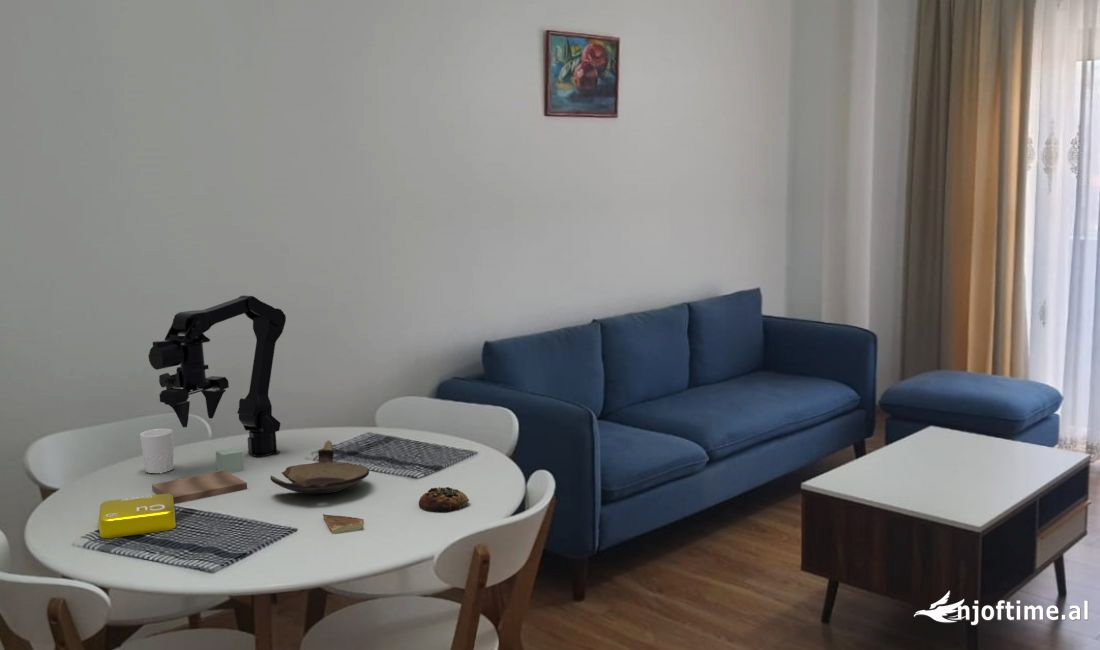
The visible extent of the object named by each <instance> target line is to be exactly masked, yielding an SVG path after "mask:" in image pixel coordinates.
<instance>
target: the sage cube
mask: <svg viewBox="0 0 1100 650" xmlns="http://www.w3.org/2000/svg"><path fill="white" fill-rule="evenodd" d="M243 457H244V456H243V451H242V450H241V449H239V448H236V447H232V448H226V449H220V450H215V461H216V470H217V471H218V470H219V471H218V472H220V471H227V472H229V473H231V474H233V473H236V472H237V473H238V472H241V471H244V460H243Z"/></svg>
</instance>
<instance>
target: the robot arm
mask: <svg viewBox="0 0 1100 650" xmlns="http://www.w3.org/2000/svg"><path fill="white" fill-rule="evenodd" d="M242 314H243V315H245V316H246V317H247V318H248V319H250V320H251V321H252V329H253V332H254V336H255V339H256V344H255V349H254V350H255V351H254V358H253V364H252V371H251V378H250V383H249V391H248V393H247V396H246V397H245V398H239V401H238V402H239V403H238V410H237V412H236V414H238V420H239V422H240V424H242V425H243V428H244V430H245V432H246V431H248V437H247V450H248V451H247V453H248V454H250V455H251V456H254V457H256V458H259V457H265V456H269V455H275V454H279V453H280V450H278V449H277V447H278V446H277V434H276V433H277V432H279V431H280V428H281V422H280V421H278V419H276V417H274V416H273V407H272V403H271V400H270V398H269V389H270V383H271V377H272V368H273V362H274V356H275V349H276V343H277V342H278V340H279V338H280V337H281V335H282V334H283V332H284V328H285V325H286V321H287V317H286V314H285V313H284V311H283V310H282V309H281V308H276V307H274V306H271V305H270V304H267V303H266V302H264V301H261V300H260V299H258V298H257V297H255V296H253V295H240V296H238V297H236V298H234V299H231V300H228V301H225V302H222V303H220V304H217V305H214V306H211V307H208V308H205V309H199V310H197V309H196V310H186V311H180V312H177V313H176V314H175V315H174V316H173V320H172V324H171V325H170V328H169V329H168V332H167V333H166V334H165V335H166V336H165V337H164V340H160V341H159V340H156V341H152V347H150V349H149V353H148V361H149V364H150V365H151V368H153V369H154V370H157V371H159V370H162V369H167V368H171V367H176V366H178V367H176V373H173V374H170V373H169V372H165V373H162V374H159V375H158V376H159V377H158V383H159V385H160V387H161V388H165V389H163V390H161V392H160V393H159V394H158V395H159V402H160V403H164V405H167V406H169V407H170V408H172V410H173V411H174V413H175V414H176V417H177V419H178V420H179V422H180V425H181V426H182V428H187V427H188V424H189V416H190V415H189V414H190V405H191V401H190V400H189V401H188V399H189V398H190V395H194V394H196V393H200V392H201V394H203V396H204V399H205V405H206V413H207V416H208V419H210V420H211V419H213V418H214V417H215V414H216V411H217V409H218V405H219V403H220V401H221V399H222V397H223V396H224V393H225V392H226V389H230V388H229V387H230V386H229V379H227V377H226V376H219V375H218V376H217V375H215V376H214V375H211V376H207V375H206V370H209V364H205V355H204V346H203V345H204V343H210V342H211V339H210V338H209V337H208V336H206V334H205V333H206V332H208V331H209V330H210V329H211V327H212V326H214V325H216V324H219V323H221V322H223V321H226V320H229V319H232V318H236V317H238V316H240V315H242ZM206 376H207V377H206Z"/></svg>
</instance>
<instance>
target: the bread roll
mask: <svg viewBox="0 0 1100 650" xmlns="http://www.w3.org/2000/svg"><path fill="white" fill-rule="evenodd" d="M418 500H419V501H418V506H419V508H420V509H422V510H425V511H427V512H430V513H431V512H432V513H447V512H453V511H457V510H461V508H462V507H463V508H464V507H466V506H468V503H469V501H470V499H469V497H468V496H467V495H466V493H464V492H463V491H460V490H459V489H456V488H453V487H450V486H449V487H448V486H447V487H440V486H439V487H433V488H430V489H429V490H428V491H427V492H425V493H424V494H422V495H421V496H420V498H419V499H418Z"/></svg>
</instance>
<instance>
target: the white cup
mask: <svg viewBox="0 0 1100 650" xmlns="http://www.w3.org/2000/svg"><path fill="white" fill-rule="evenodd" d="M139 435H140V436H139V438H140V444H141V445H140V446H141V451H142V452H141V453H142V458H143V463H144V470H145V473H146V472H149V473H160V472H166V471H169V470H172V469H173V470H174V455H175V454H174V453H175V452H174V448H175V447H174V431H173V429H171V428H155V429H154V428H153V429H149V430H145V431H143V432H141V433H140V434H139ZM173 470H172V471H173ZM169 472H170V471H169ZM149 473H148V474H149ZM166 473H167V472H166ZM160 474H161V473H160Z"/></svg>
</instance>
